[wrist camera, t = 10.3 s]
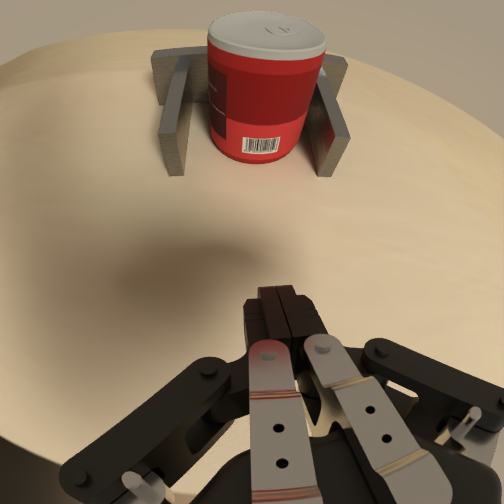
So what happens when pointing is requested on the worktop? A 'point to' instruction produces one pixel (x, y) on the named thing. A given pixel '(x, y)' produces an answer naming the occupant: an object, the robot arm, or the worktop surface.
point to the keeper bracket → (197, 90)
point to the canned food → (261, 82)
